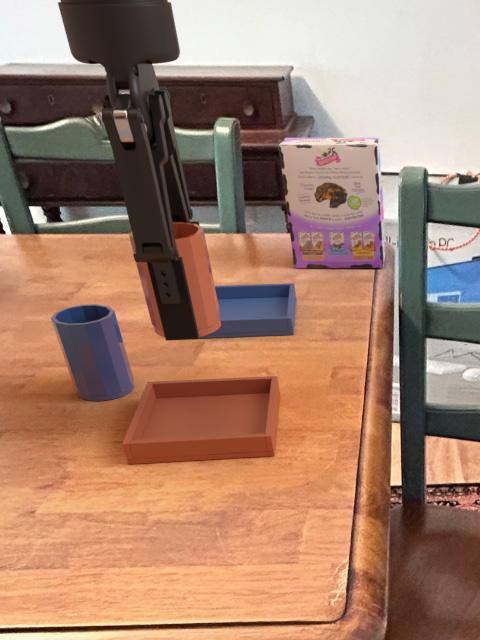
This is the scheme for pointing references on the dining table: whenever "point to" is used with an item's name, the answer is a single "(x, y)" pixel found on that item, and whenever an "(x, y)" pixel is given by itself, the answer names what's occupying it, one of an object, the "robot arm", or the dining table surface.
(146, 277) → the terracotta cup
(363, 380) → the dining table surface
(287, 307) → the blue tray
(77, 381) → the blue cup
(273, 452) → the terracotta tray
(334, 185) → the candy box
